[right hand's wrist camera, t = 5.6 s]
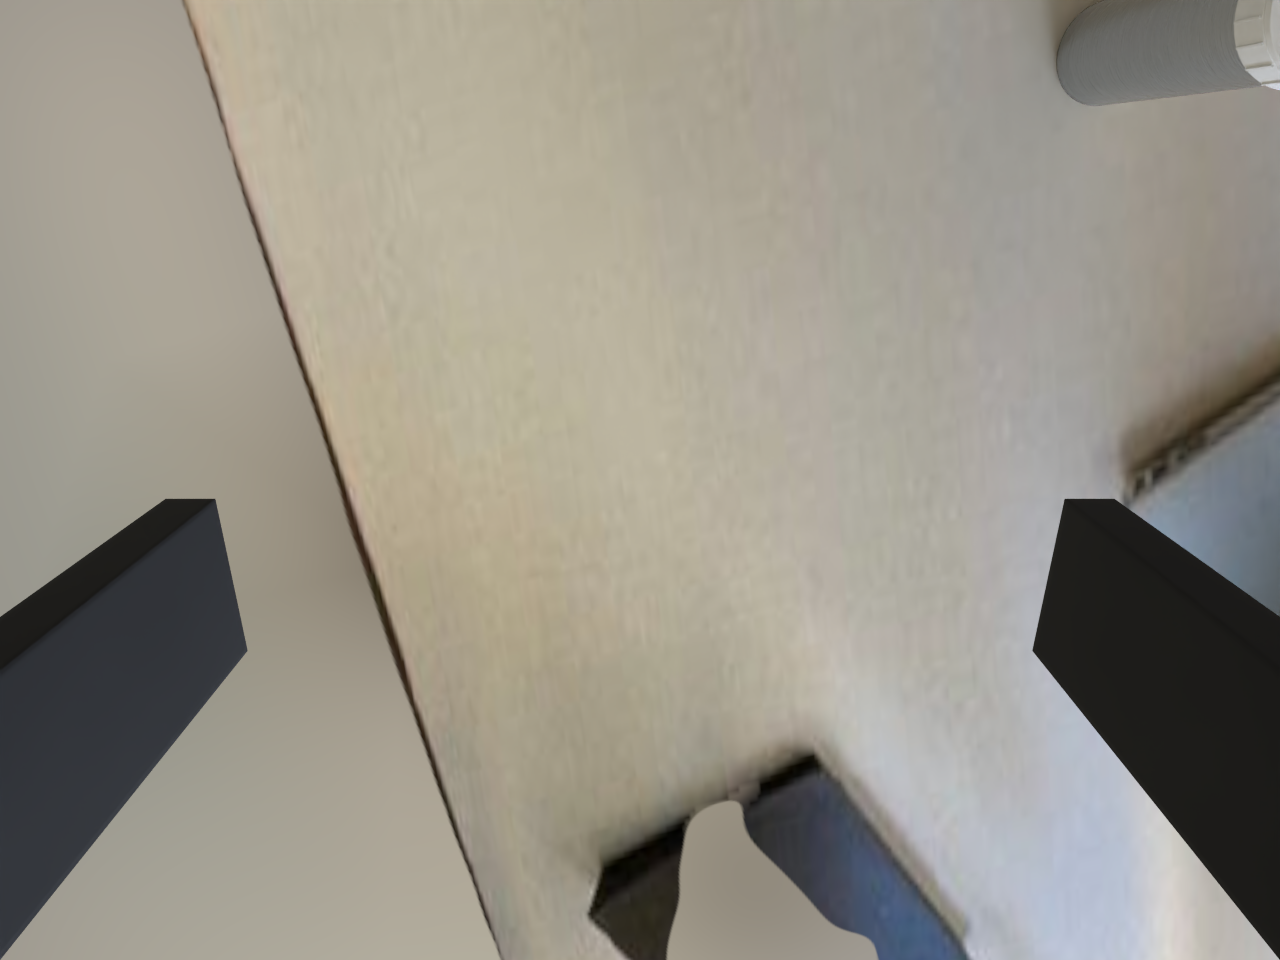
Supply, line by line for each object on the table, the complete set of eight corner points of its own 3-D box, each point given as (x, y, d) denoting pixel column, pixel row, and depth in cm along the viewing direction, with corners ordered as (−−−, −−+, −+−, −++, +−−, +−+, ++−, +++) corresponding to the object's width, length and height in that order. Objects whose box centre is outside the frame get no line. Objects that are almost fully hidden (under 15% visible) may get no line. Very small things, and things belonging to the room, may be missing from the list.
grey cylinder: (1049, 21, 46) (1265, -52, 30) (1146, -17, 45) (1421, -113, 29) (1064, 120, 47) (1276, 100, 32) (1158, 84, 47) (1422, 46, 31)
